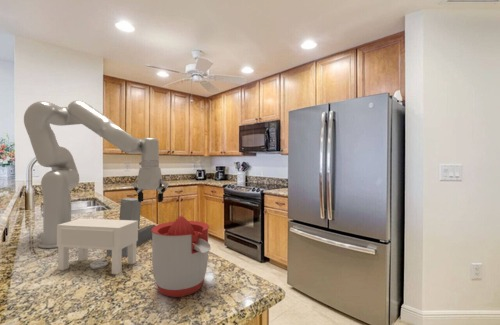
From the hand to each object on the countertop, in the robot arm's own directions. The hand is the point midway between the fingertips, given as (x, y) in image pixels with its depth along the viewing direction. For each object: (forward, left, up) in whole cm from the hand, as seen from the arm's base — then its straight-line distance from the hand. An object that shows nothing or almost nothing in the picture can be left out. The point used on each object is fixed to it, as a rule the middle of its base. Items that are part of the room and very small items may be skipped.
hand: (150, 201), depth 117 cm
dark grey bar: (0, -10, -17) cm, 20 cm away
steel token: (0, -32, -17) cm, 36 cm away
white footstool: (0, -32, -17) cm, 36 cm away
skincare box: (-19, +14, -17) cm, 29 cm away
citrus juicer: (+34, -42, -17) cm, 57 cm away
